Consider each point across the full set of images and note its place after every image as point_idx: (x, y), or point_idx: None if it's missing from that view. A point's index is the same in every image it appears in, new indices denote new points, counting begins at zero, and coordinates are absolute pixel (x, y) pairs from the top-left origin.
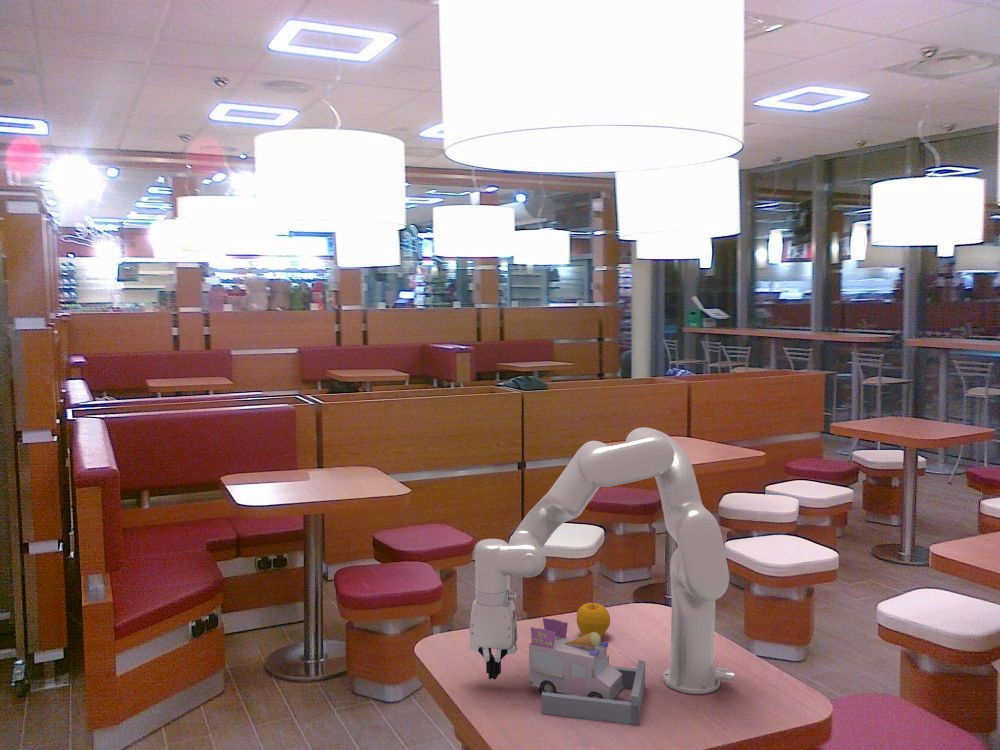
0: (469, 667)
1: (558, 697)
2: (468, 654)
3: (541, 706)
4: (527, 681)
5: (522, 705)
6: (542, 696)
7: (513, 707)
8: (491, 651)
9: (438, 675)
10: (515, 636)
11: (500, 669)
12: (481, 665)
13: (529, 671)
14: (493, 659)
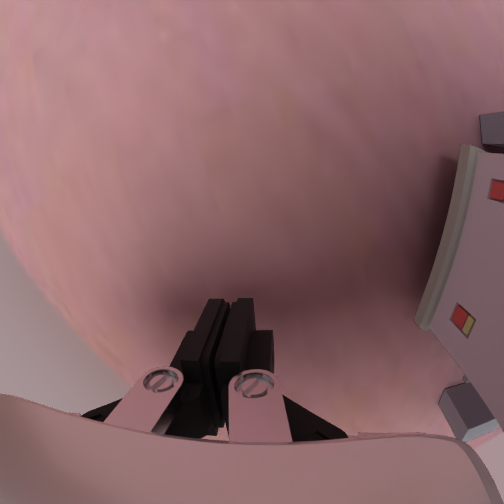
0: (67, 137)
1: (499, 427)
2: (43, 37)
3: (446, 418)
4: (420, 327)
5: (386, 389)
6: (460, 439)
7: (358, 408)
8: (174, 415)
9: (19, 255)
10: (473, 475)
11: (272, 350)
12: (104, 91)
13: (452, 355)
14: (213, 393)
